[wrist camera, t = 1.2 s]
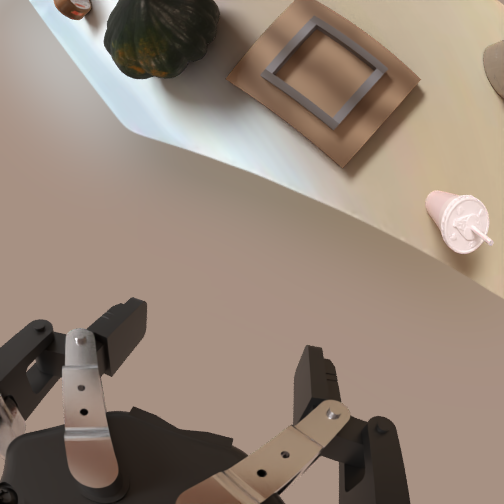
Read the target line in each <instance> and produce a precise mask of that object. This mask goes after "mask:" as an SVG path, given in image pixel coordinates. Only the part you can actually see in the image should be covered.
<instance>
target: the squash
mask: <svg viewBox="0 0 504 504" xmlns="http://www.w3.org/2000/svg"><path fill="white" fill-rule="evenodd" d="M219 17H220V12H219V8H218V6H217V5H216V3H215V2H214V1H213V0H119V1H118V3H117V5H116V7H115V8H114V9H113V11H112V12H111V14H110V16H109V19H108V21H107V30H106V33H105V37H104V46H105V48H106V50H107V51H108V52H109V54H110V55H111V56H112V59H113V61H114V62H115V64H116V65H117V67H118V68H119V69H120V70H121V72H123V73H124V74H125V75H127V76H129V77H131V78H134V79H147V78H150V77H153V76H155V77H159V78H174V77H175V76H177V75H179V74H180V73H181V72H182V71H183V70H184V69H185V68H186V66H187V64H188V62H190V61H196V60H199V59H201V58H202V57H203V56H204V55H205V54H206V52H207V46H206V44H208V43H210V42H212V41H213V39H214V37H215V35H216V23H217V22H218V20H219Z"/></svg>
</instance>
